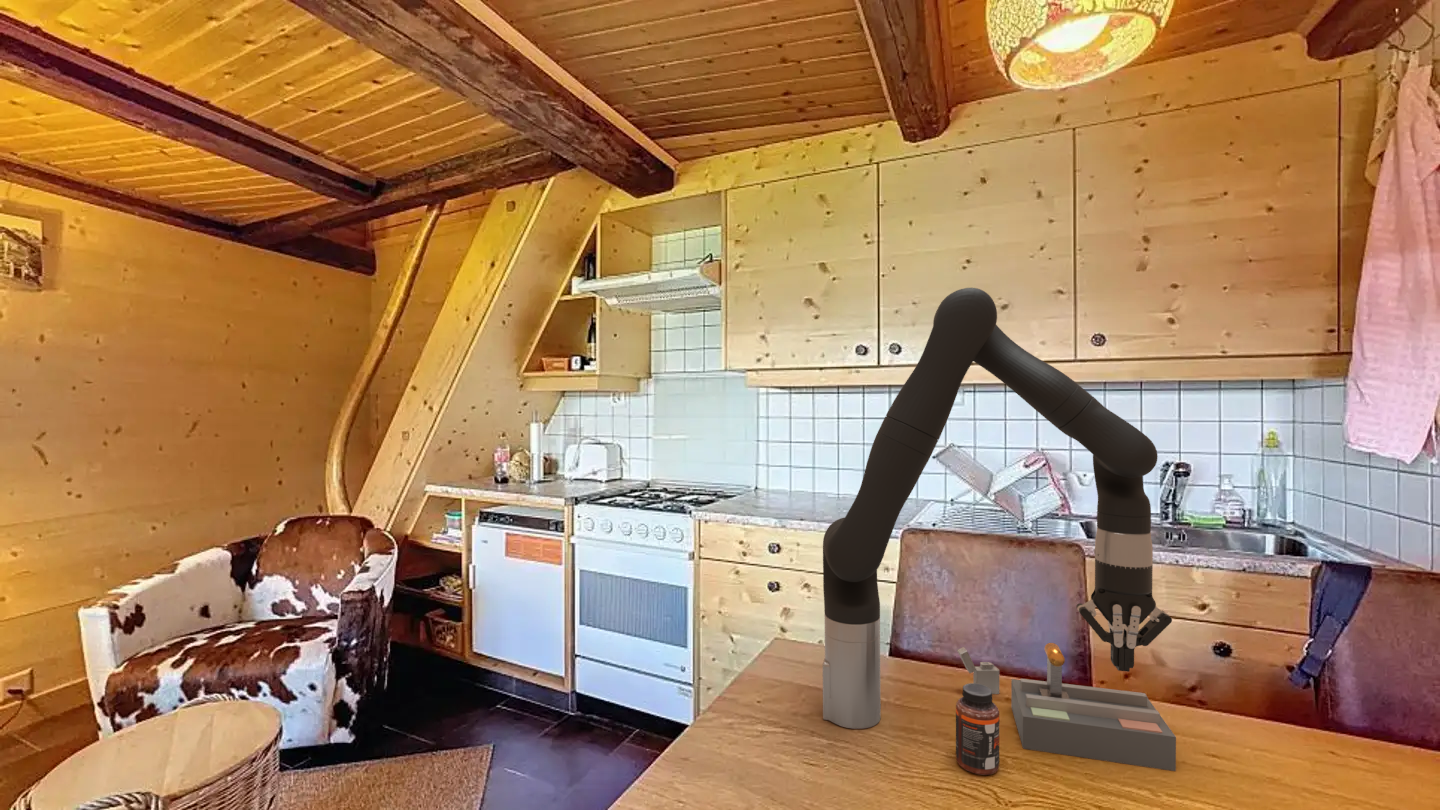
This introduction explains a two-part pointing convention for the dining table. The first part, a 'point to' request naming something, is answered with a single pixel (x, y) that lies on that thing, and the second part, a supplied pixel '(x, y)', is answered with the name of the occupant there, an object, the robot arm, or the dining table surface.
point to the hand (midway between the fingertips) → (1122, 669)
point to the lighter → (981, 672)
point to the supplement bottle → (977, 730)
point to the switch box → (1093, 724)
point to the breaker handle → (1054, 673)
